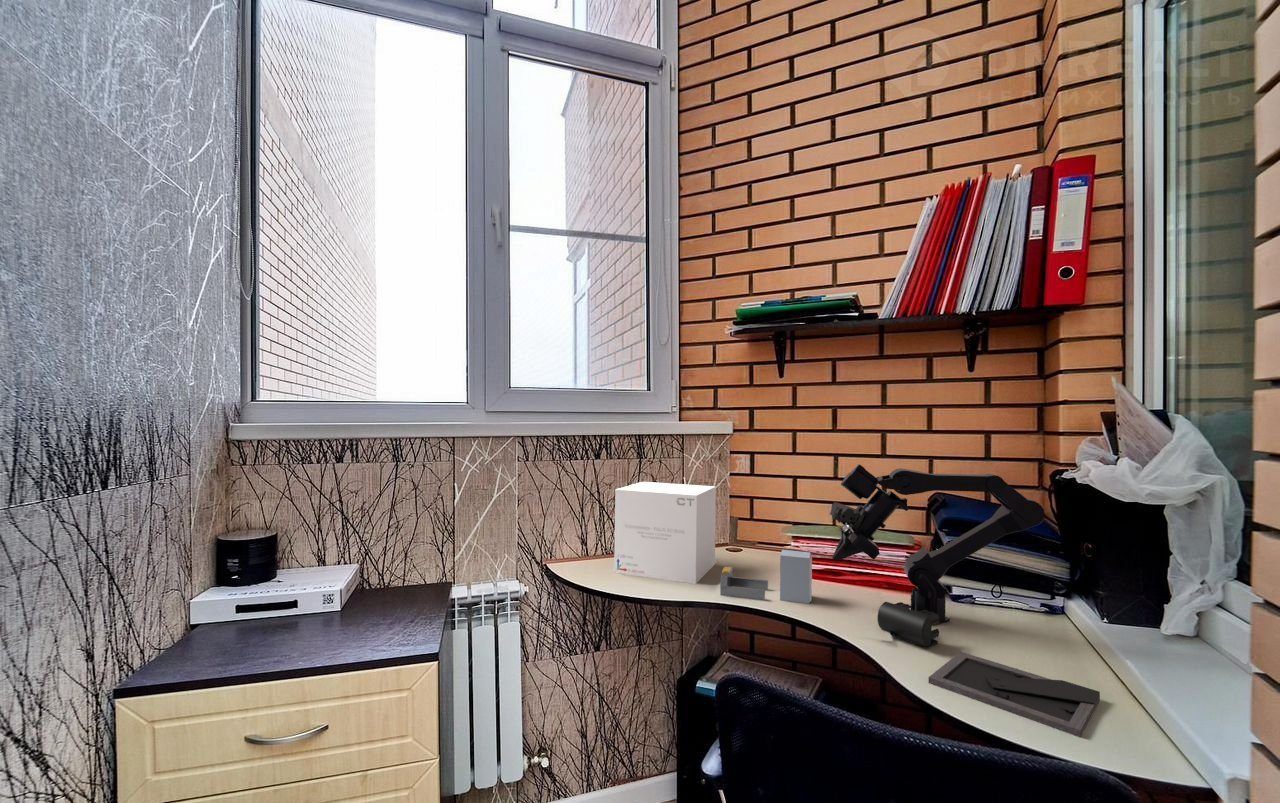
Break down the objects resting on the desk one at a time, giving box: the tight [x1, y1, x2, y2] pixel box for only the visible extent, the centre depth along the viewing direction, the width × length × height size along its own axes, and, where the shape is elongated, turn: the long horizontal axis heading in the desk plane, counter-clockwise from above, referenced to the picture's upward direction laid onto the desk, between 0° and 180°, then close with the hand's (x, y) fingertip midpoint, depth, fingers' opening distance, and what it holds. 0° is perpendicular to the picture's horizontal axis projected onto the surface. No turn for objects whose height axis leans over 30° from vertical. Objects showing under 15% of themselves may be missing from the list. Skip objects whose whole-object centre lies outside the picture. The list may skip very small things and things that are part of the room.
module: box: [779, 549, 813, 604], centre depth 135 cm, size 7×6×11 cm
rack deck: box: [719, 566, 769, 601], centre depth 137 cm, size 24×10×7 cm, turn 72°
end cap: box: [876, 601, 941, 649], centre depth 114 cm, size 10×7×7 cm
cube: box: [613, 481, 717, 585], centre depth 164 cm, size 25×21×24 cm
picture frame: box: [928, 651, 1101, 738], centre depth 92 cm, size 16×2×21 cm
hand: (833, 559), depth 133 cm, fingers closed
